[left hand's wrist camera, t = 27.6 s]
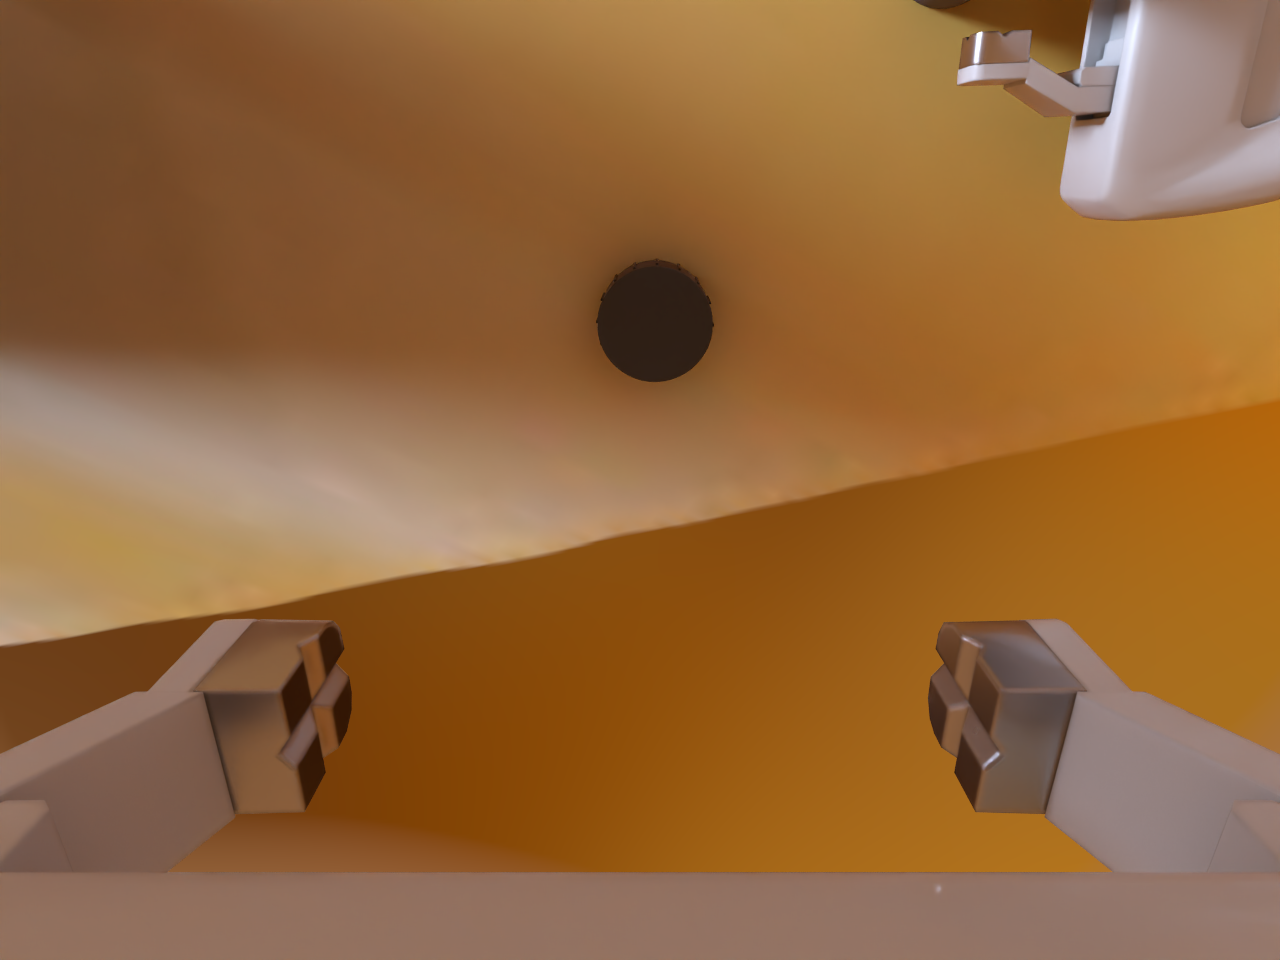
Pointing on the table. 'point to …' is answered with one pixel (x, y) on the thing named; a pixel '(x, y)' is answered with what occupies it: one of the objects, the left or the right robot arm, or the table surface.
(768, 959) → the left robot arm
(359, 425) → the table surface
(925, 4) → the dark grey cylinder
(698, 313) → the lid
